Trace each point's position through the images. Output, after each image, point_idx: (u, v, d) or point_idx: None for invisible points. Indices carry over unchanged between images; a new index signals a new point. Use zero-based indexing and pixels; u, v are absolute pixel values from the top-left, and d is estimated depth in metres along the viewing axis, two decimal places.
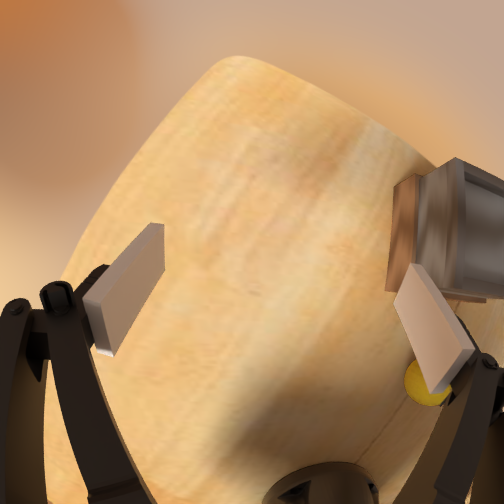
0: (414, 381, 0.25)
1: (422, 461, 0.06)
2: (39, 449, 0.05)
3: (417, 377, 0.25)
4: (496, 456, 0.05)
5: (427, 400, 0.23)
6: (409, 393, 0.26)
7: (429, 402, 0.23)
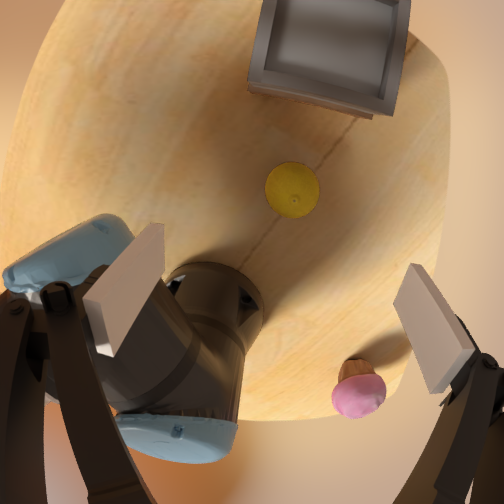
0: (266, 185, 0.29)
1: (422, 461, 0.06)
2: (39, 449, 0.05)
3: (267, 181, 0.29)
4: (496, 456, 0.05)
5: (275, 208, 0.28)
6: None
7: (277, 211, 0.28)
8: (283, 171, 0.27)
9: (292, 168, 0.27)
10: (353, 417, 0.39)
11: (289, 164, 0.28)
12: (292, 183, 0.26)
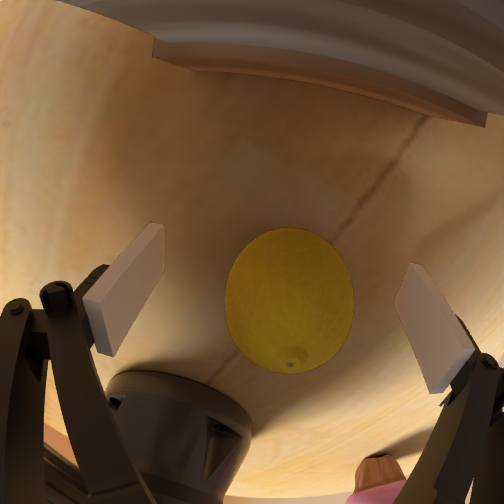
0: (225, 294, 0.12)
1: (422, 461, 0.06)
2: (39, 449, 0.05)
3: (227, 287, 0.12)
4: (496, 456, 0.05)
5: (246, 356, 0.11)
6: None
7: (252, 360, 0.12)
8: (263, 273, 0.10)
9: (286, 263, 0.10)
10: None
11: (280, 245, 0.11)
12: (286, 317, 0.09)
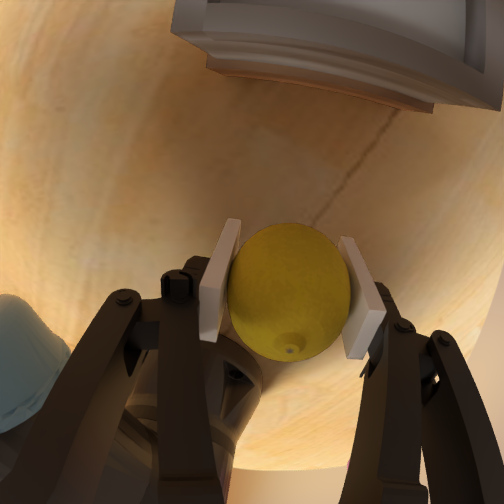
0: (227, 285, 0.13)
1: (358, 444, 0.07)
2: (108, 442, 0.07)
3: (230, 279, 0.12)
4: (443, 437, 0.06)
5: (247, 345, 0.12)
6: None
7: None
8: (264, 264, 0.11)
9: (285, 255, 0.11)
10: None
11: (280, 238, 0.12)
12: (285, 305, 0.10)
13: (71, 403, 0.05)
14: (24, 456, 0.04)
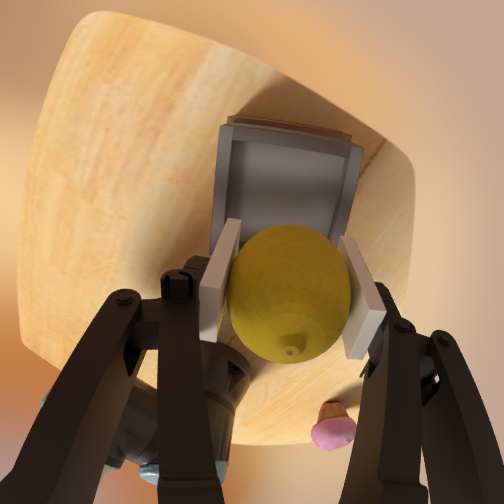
0: (227, 287, 0.13)
1: (358, 444, 0.07)
2: (108, 442, 0.07)
3: (229, 280, 0.12)
4: (443, 437, 0.06)
5: (247, 347, 0.12)
6: None
7: None
8: (264, 266, 0.11)
9: (285, 257, 0.11)
10: (329, 449, 0.46)
11: (280, 240, 0.12)
12: (285, 307, 0.10)
13: (71, 403, 0.05)
14: (24, 456, 0.04)
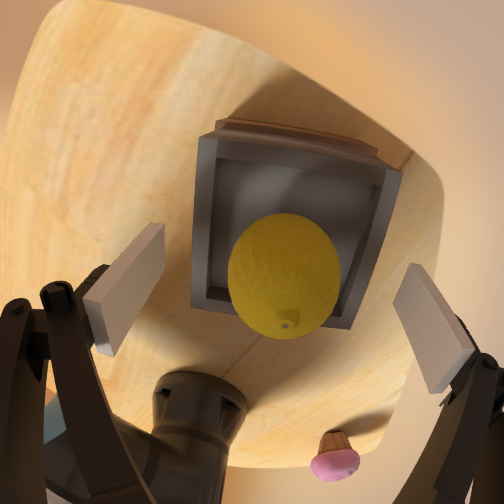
0: (228, 270, 0.14)
1: (422, 461, 0.06)
2: (40, 449, 0.05)
3: (230, 263, 0.14)
4: (496, 456, 0.05)
5: None
6: None
7: None
8: (261, 249, 0.12)
9: (280, 241, 0.12)
10: (329, 481, 0.40)
11: (275, 226, 0.13)
12: (280, 284, 0.11)
13: None
14: None
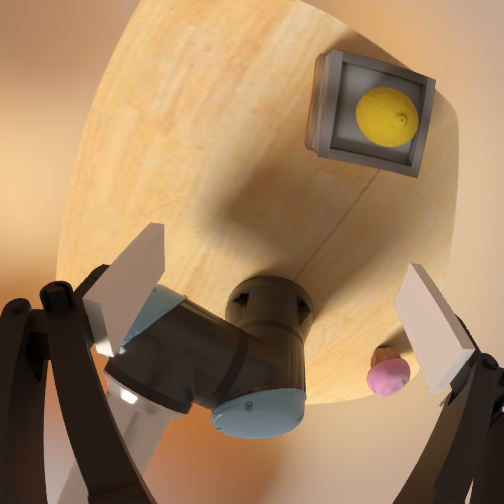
0: (360, 108, 0.22)
1: (422, 461, 0.06)
2: (39, 449, 0.05)
3: (362, 103, 0.21)
4: (496, 456, 0.05)
5: (376, 132, 0.21)
6: (359, 127, 0.23)
7: (379, 135, 0.21)
8: (382, 91, 0.20)
9: (389, 89, 0.20)
10: (384, 394, 0.48)
11: (383, 87, 0.21)
12: (396, 102, 0.19)
13: None
14: None
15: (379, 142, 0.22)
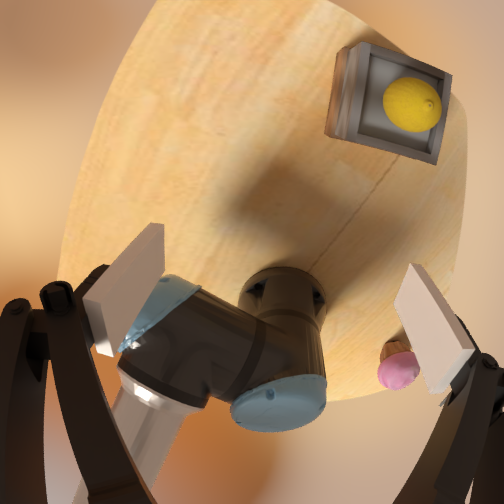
0: (389, 95, 0.22)
1: (422, 461, 0.06)
2: (39, 449, 0.05)
3: (391, 90, 0.22)
4: (496, 456, 0.05)
5: (405, 116, 0.21)
6: (387, 112, 0.24)
7: (408, 119, 0.21)
8: (410, 80, 0.20)
9: (416, 78, 0.20)
10: (395, 388, 0.48)
11: (409, 77, 0.21)
12: (423, 89, 0.19)
13: None
14: None
15: (407, 126, 0.22)
